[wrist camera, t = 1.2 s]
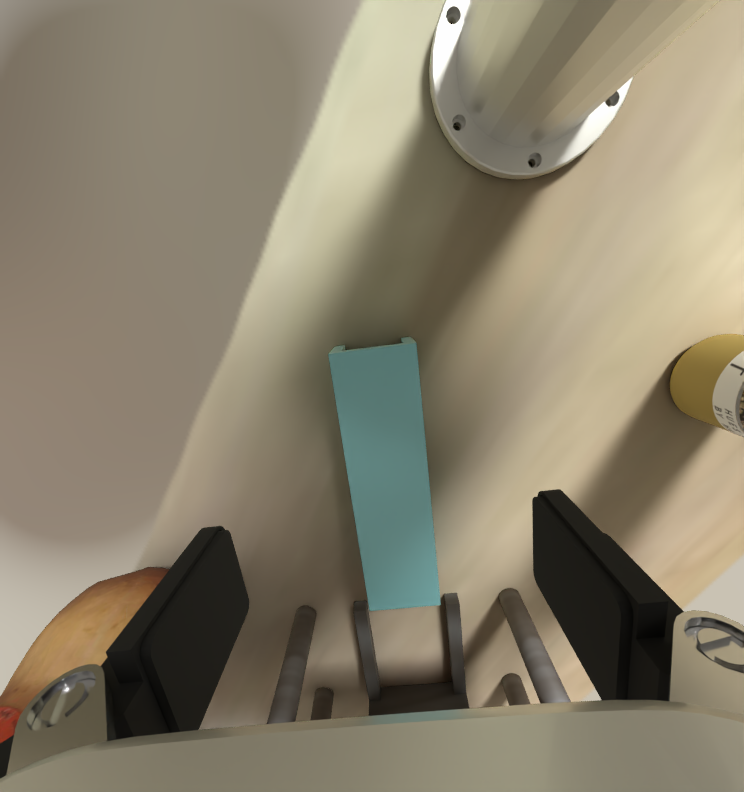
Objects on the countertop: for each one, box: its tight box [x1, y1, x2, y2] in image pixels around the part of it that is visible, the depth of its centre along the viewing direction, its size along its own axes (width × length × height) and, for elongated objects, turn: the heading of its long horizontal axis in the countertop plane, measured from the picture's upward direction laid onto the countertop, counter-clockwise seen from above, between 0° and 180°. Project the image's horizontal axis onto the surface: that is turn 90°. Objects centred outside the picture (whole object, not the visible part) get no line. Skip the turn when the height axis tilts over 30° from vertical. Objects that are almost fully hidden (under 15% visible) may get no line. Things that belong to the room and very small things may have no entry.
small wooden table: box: [267, 588, 571, 724], centre depth 30 cm, size 13×22×12 cm, turn 97°
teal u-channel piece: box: [328, 337, 441, 611], centre depth 28 cm, size 22×6×4 cm, turn 7°
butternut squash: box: [0, 567, 170, 743], centre depth 22 cm, size 14×13×25 cm
